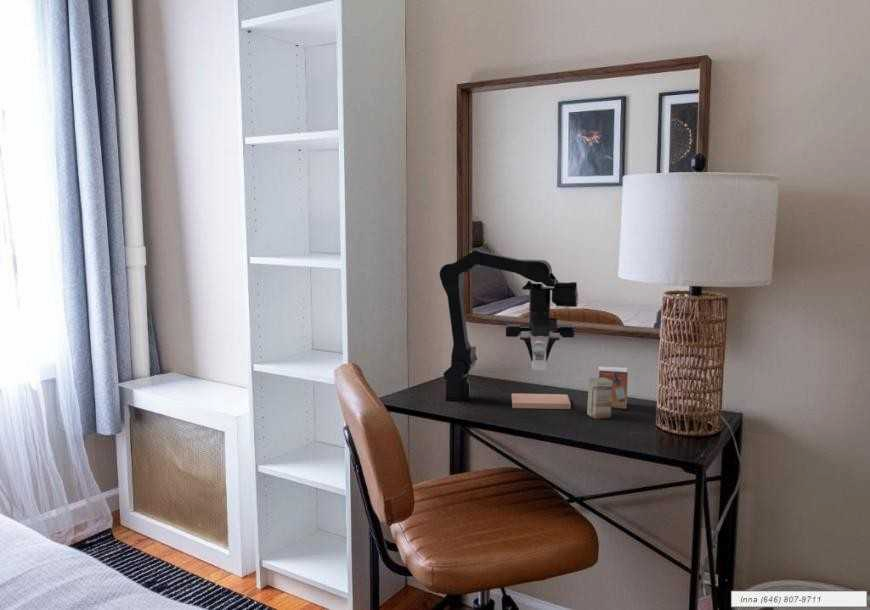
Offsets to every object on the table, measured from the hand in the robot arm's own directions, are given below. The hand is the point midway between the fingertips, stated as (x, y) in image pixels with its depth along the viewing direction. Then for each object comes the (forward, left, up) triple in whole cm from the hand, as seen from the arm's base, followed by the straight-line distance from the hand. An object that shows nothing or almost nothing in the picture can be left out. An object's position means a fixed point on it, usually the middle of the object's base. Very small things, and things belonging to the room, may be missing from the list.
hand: (539, 360), depth 202 cm
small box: (+21, +1, -13) cm, 24 cm away
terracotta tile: (+1, +1, -13) cm, 13 cm away
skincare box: (+16, -10, -13) cm, 23 cm away
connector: (0, 0, -2) cm, 2 cm away
